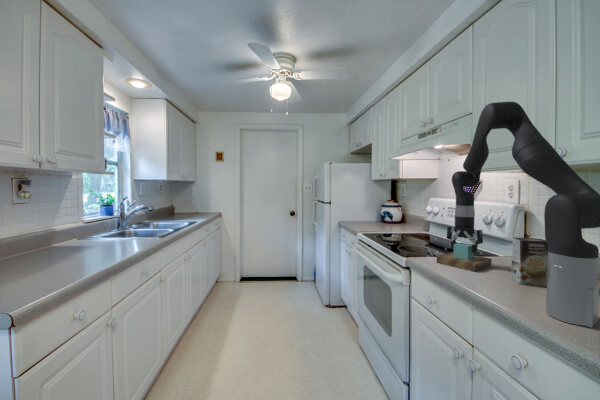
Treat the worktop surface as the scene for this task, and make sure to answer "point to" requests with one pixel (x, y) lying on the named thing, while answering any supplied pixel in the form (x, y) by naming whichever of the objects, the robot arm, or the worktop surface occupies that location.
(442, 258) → the walnut stand
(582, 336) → the worktop surface
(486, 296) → the worktop surface
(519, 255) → the coffee box
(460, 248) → the teal cube
